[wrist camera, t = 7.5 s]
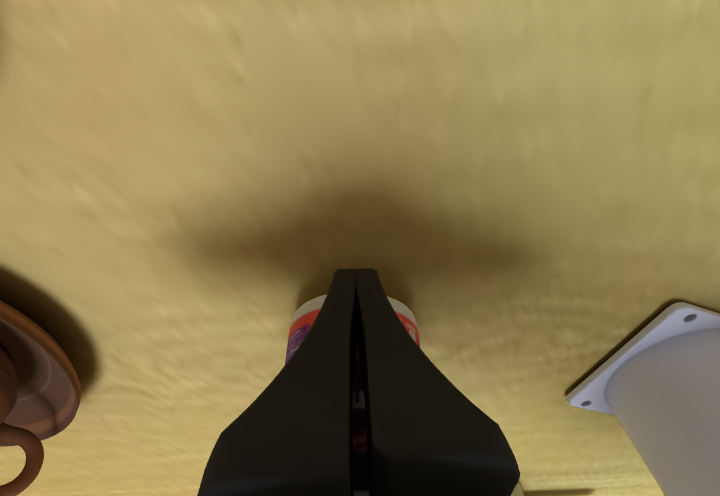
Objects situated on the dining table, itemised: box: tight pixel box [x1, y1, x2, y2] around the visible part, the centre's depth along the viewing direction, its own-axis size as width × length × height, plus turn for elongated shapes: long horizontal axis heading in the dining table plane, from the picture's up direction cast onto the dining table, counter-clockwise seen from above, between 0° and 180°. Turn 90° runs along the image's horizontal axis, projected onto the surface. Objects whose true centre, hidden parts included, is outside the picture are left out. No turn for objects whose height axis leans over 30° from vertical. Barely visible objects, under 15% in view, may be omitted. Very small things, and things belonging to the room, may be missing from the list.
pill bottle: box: [285, 294, 420, 496], centre depth 13 cm, size 5×5×10 cm
